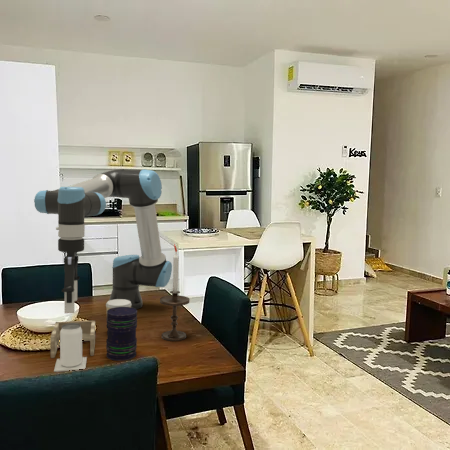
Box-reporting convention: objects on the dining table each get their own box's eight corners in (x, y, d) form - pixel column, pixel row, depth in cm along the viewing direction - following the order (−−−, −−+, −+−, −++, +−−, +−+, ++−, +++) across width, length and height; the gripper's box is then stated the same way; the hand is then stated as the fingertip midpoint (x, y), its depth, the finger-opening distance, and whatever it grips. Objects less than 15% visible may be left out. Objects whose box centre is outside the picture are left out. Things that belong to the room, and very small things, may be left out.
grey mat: (57, 360, 145) (57, 358, 145) (86, 358, 147) (86, 357, 147) (54, 371, 136) (54, 370, 136) (85, 369, 139) (85, 368, 139)
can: (64, 358, 145) (64, 322, 144) (85, 359, 145) (85, 323, 144) (56, 367, 139) (56, 328, 137) (78, 368, 139) (78, 329, 137)
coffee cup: (124, 338, 166) (125, 306, 165) (101, 336, 168) (101, 304, 167) (134, 330, 175) (135, 300, 174) (112, 328, 177) (112, 297, 176)
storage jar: (141, 351, 155) (142, 308, 153) (129, 362, 145) (129, 316, 144) (114, 347, 157) (115, 305, 155) (100, 358, 147) (100, 313, 146)
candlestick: (159, 342, 164) (161, 246, 160) (159, 332, 174) (161, 241, 171) (189, 341, 165) (192, 246, 162) (187, 331, 176) (190, 242, 172)
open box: (55, 341, 161) (55, 322, 160) (95, 339, 164) (95, 320, 164) (50, 358, 146) (50, 336, 146) (93, 355, 150) (94, 334, 149)
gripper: (62, 232, 149) (62, 296, 151) (53, 244, 125) (53, 319, 127) (86, 232, 151) (85, 295, 153) (82, 244, 127) (81, 318, 129)
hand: (71, 306), depth 140 cm, fingers open, 13 cm apart
